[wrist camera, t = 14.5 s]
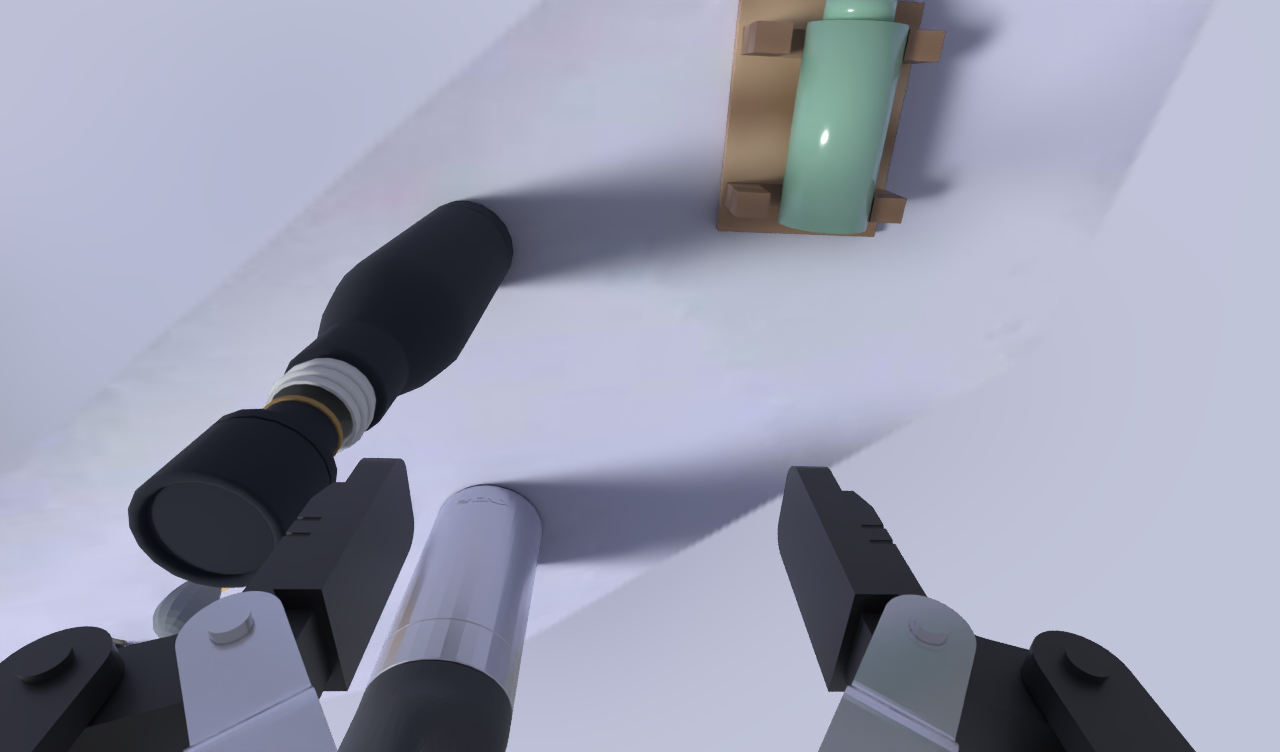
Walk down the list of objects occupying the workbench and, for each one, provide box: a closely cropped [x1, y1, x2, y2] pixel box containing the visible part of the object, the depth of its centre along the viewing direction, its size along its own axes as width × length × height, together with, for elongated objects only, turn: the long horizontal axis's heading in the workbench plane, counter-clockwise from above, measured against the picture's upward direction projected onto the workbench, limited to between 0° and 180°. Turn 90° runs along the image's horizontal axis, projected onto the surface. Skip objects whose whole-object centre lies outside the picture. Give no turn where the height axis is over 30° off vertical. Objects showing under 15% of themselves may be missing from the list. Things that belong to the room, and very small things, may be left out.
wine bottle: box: [128, 201, 513, 588], centre depth 29 cm, size 6×6×30 cm
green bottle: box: [777, 0, 910, 234], centre depth 35 cm, size 16×6×6 cm, turn 177°
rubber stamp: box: [153, 581, 229, 638], centre depth 47 cm, size 10×6×12 cm, turn 117°
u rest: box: [716, 0, 946, 237], centre depth 37 cm, size 14×11×5 cm
